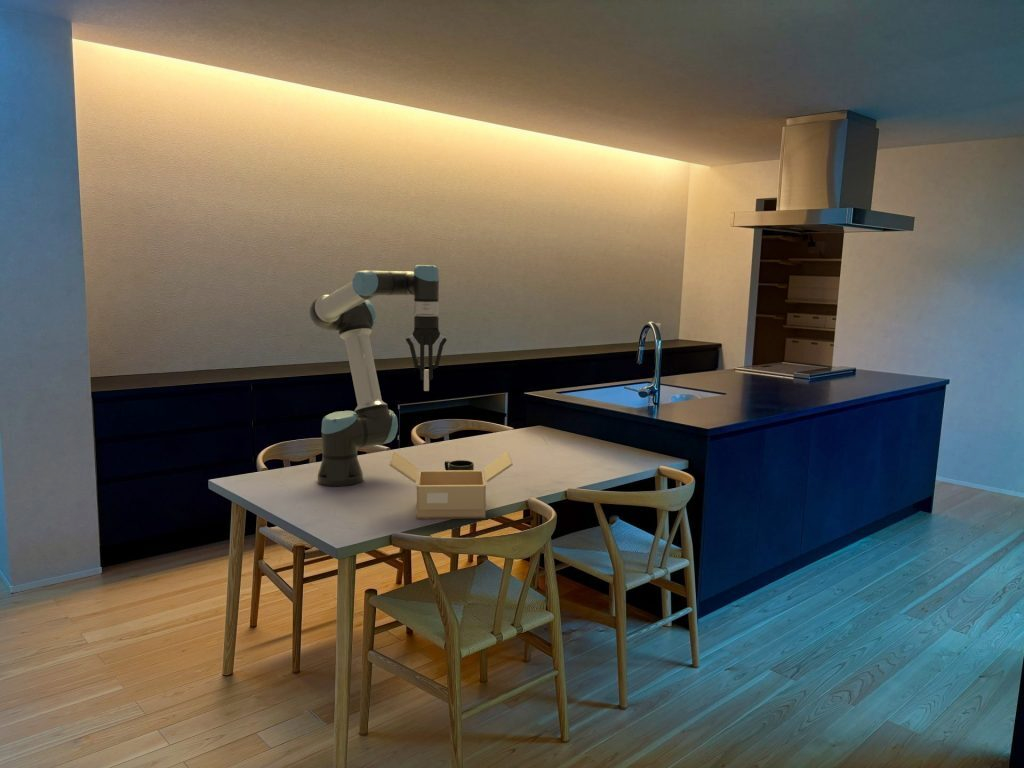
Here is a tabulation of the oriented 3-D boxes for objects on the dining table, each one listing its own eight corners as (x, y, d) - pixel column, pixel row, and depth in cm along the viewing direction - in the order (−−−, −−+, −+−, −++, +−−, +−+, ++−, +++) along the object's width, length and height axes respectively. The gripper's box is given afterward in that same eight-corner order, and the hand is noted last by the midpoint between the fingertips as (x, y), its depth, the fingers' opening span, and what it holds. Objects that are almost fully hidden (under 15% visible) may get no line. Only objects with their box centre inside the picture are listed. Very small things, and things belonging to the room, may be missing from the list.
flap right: (485, 469, 229) (508, 452, 229) (487, 482, 214) (512, 465, 214) (484, 467, 229) (507, 451, 229) (486, 480, 214) (511, 463, 214)
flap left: (414, 482, 213) (389, 465, 211) (417, 469, 227) (393, 453, 226) (416, 481, 213) (390, 463, 211) (418, 467, 227) (394, 451, 226)
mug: (455, 483, 250) (456, 456, 249) (478, 491, 242) (478, 463, 240) (436, 488, 245) (436, 460, 243) (458, 496, 236) (459, 467, 235)
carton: (416, 519, 213) (416, 486, 211) (419, 501, 230) (419, 470, 229) (485, 519, 215) (485, 486, 213) (483, 500, 232) (483, 470, 230)
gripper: (404, 315, 224) (404, 392, 227) (447, 316, 225) (447, 392, 228) (406, 314, 231) (406, 388, 235) (447, 314, 232) (447, 388, 236)
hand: (426, 390), depth 231 cm, fingers closed
